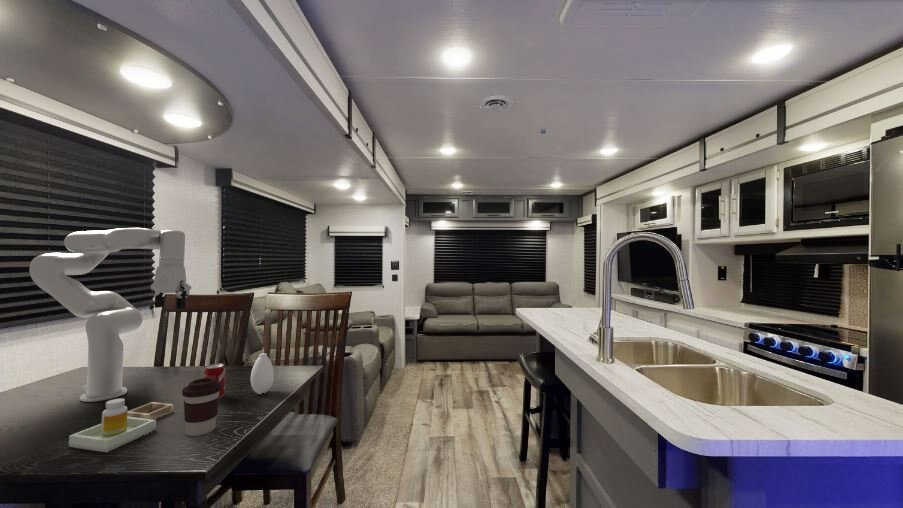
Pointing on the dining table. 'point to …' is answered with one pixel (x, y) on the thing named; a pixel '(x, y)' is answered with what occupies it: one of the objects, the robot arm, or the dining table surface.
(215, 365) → the soda can
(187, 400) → the coffee cup
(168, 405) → the socket collar
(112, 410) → the supplement bottle
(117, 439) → the tray
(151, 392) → the dining table surface
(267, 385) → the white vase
